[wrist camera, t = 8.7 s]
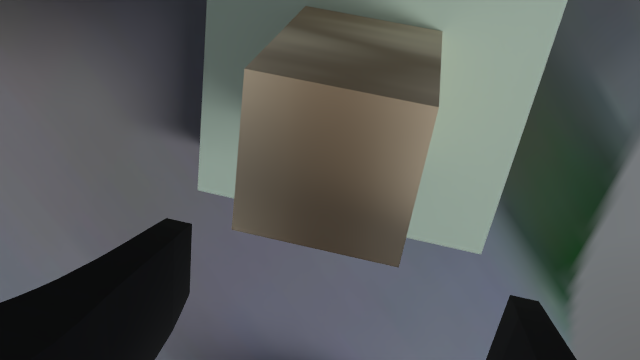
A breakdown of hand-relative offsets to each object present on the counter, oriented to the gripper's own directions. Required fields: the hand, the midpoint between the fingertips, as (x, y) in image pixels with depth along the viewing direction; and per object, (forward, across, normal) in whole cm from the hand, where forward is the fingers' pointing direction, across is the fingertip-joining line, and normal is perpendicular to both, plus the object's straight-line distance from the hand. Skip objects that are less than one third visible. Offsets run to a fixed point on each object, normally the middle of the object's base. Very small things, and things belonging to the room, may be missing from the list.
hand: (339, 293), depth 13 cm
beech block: (+7, +1, -2) cm, 7 cm away
